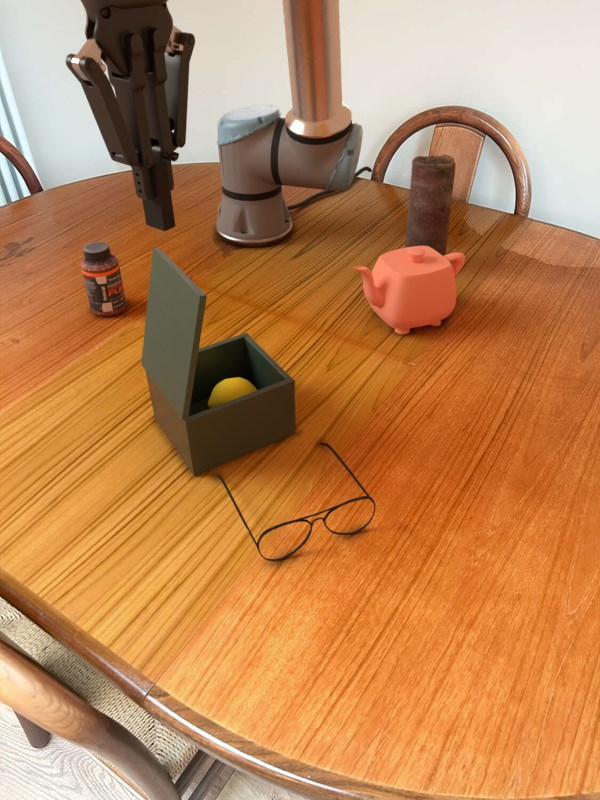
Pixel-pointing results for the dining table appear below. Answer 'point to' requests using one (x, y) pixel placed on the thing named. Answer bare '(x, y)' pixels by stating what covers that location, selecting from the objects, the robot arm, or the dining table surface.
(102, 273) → the supplement bottle
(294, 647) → the dining table surface
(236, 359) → the chest
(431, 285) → the teapot
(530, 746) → the dining table surface
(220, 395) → the lemon
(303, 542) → the glasses
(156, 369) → the lid
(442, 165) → the candle
